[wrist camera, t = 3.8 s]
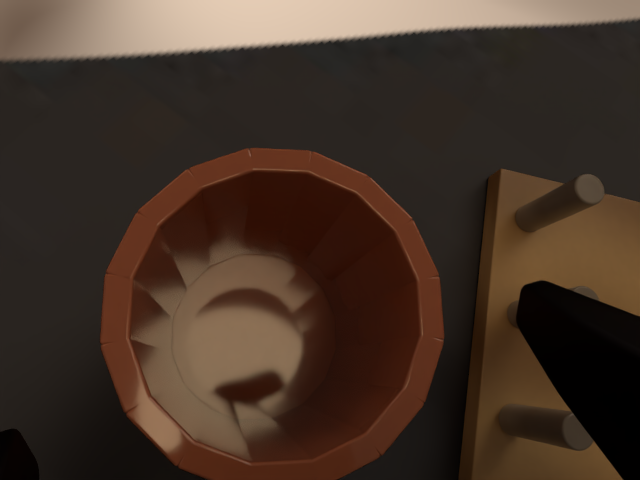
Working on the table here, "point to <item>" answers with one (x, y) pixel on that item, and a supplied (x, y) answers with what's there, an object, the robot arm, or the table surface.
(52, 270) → the table surface
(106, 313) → the cup
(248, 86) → the table surface
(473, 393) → the dish rack
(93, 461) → the table surface
